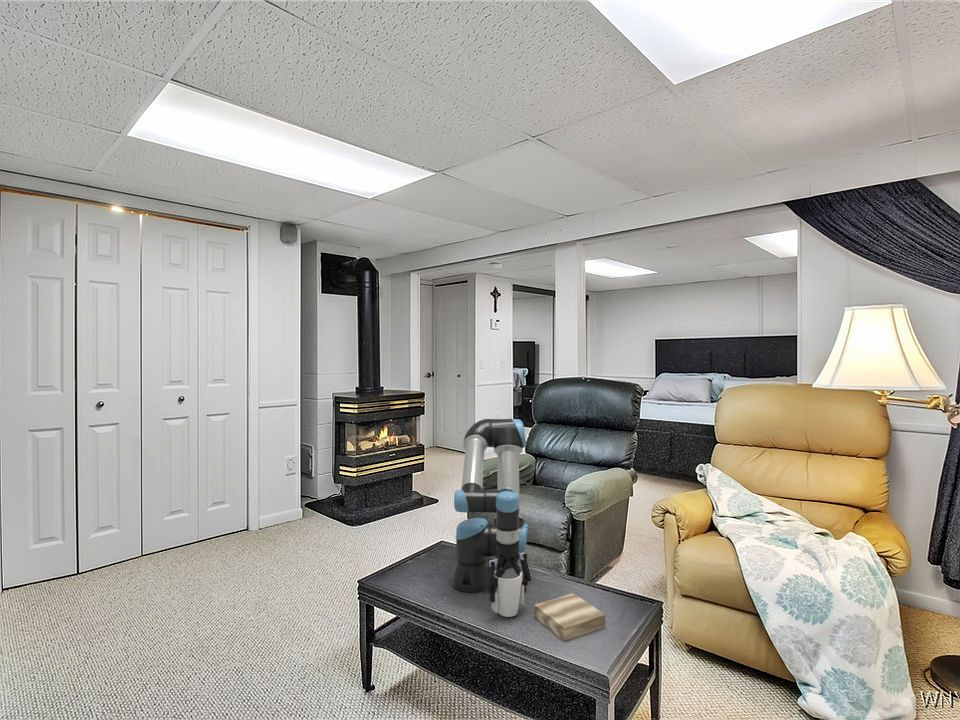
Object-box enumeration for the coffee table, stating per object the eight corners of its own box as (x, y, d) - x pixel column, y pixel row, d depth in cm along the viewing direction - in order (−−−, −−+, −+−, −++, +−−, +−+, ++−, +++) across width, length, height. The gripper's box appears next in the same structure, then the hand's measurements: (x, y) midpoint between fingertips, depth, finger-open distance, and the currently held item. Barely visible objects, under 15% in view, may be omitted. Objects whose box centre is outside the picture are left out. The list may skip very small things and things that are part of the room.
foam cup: (489, 615, 170) (488, 576, 169) (500, 602, 178) (500, 564, 178) (516, 622, 166) (516, 582, 165) (526, 608, 174) (526, 570, 174)
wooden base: (534, 616, 171) (534, 604, 170) (573, 604, 178) (573, 593, 178) (564, 641, 156) (564, 628, 156) (605, 627, 164) (605, 614, 164)
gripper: (483, 551, 162) (484, 621, 163) (542, 537, 173) (542, 603, 174) (472, 542, 169) (473, 610, 170) (529, 530, 179) (529, 593, 180)
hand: (508, 606), depth 172 cm, fingers closed on foam cup, 9 cm apart
